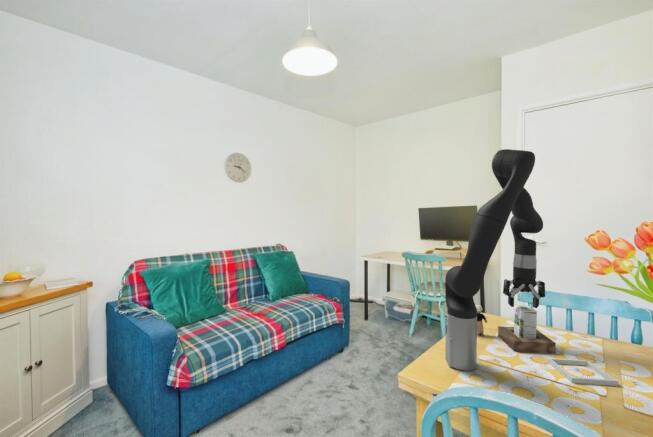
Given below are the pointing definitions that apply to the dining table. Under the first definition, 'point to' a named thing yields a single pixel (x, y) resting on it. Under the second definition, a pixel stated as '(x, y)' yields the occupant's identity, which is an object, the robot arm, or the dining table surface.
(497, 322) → the dining table surface
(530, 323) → the syrup box
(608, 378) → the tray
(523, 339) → the socket block
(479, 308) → the grandmother figurine
